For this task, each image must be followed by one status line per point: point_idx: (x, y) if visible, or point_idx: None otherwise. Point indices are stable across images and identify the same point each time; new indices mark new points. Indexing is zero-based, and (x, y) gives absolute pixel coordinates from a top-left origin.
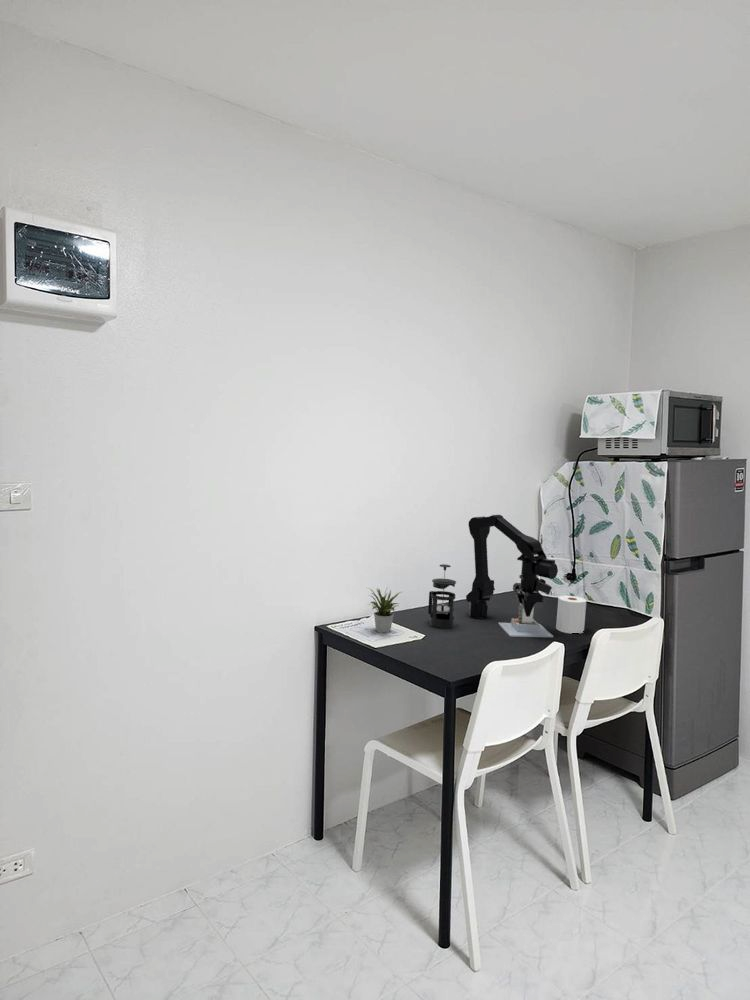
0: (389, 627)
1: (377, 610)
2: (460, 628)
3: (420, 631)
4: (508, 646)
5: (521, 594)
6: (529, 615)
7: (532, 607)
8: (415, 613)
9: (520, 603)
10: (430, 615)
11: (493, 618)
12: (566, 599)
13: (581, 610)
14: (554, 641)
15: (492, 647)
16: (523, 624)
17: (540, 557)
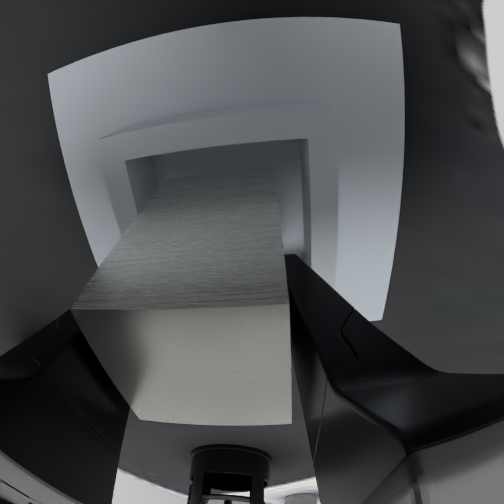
0: (312, 502)
1: None
2: (258, 437)
3: (302, 477)
4: (493, 328)
5: (65, 498)
6: (302, 263)
7: (374, 332)
8: (135, 465)
9: (157, 420)
10: (225, 490)
11: (47, 322)
12: None
13: None
14: (476, 63)
15: (479, 370)
16: (320, 267)
17: None
